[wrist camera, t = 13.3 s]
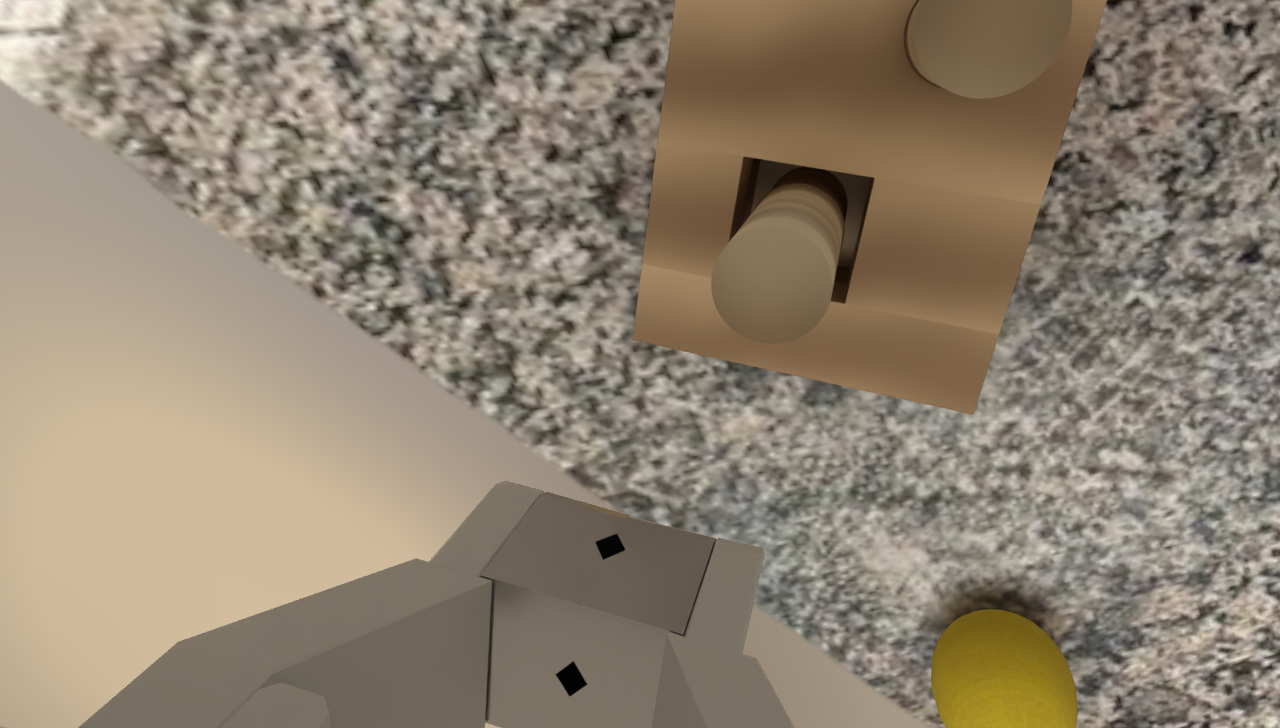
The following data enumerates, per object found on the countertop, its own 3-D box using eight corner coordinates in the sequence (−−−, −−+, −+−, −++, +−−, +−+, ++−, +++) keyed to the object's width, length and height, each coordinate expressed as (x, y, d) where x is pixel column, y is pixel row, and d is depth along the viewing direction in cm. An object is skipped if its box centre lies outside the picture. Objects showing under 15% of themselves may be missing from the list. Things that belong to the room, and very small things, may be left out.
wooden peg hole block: (728, -63, 30) (617, -151, 17) (1067, -28, 27) (1228, -100, 15) (676, 289, 35) (564, 418, 23) (955, 345, 33) (1002, 526, 20)
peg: (774, 158, 30) (718, 214, 19) (857, 171, 29) (846, 236, 19) (760, 238, 31) (700, 332, 21) (839, 252, 31) (820, 356, 20)
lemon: (1052, 573, 35) (1096, 706, 28) (1057, 674, 37) (1100, 824, 30) (921, 574, 37) (930, 699, 30) (931, 671, 39) (943, 811, 31)
